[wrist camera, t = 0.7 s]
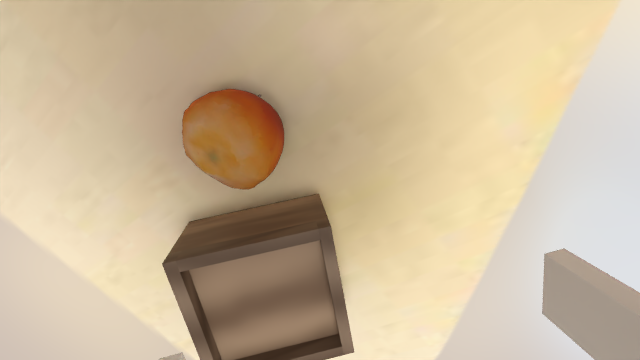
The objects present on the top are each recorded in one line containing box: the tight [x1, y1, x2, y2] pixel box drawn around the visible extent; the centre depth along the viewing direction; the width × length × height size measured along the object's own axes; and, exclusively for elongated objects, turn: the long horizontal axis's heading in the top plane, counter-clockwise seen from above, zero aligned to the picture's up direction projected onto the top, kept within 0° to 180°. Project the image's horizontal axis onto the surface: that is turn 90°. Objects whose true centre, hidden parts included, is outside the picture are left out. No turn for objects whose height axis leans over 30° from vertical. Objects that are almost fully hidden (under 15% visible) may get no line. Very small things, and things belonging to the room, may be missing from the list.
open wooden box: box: [162, 194, 354, 360], centre depth 29 cm, size 13×13×8 cm
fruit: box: [182, 89, 284, 189], centre depth 26 cm, size 8×8×8 cm
